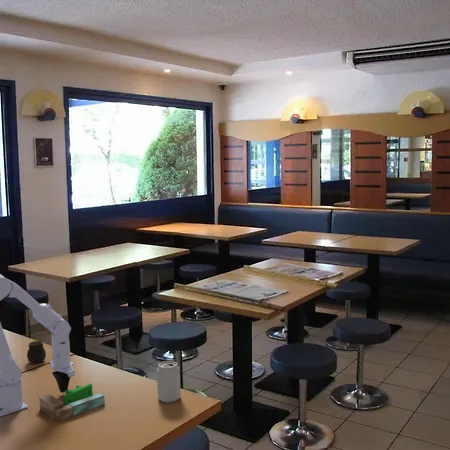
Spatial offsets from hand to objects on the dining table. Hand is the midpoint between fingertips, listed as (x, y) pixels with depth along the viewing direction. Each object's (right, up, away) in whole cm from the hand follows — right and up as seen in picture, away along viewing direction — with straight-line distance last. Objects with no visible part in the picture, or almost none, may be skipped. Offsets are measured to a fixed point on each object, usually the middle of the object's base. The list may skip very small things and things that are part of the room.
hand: (63, 391), depth 187 cm
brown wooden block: (0, -3, -13) cm, 14 cm away
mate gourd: (-20, +2, +32) cm, 38 cm away
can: (+37, -1, -6) cm, 37 cm away
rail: (+9, -2, -14) cm, 17 cm away
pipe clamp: (+6, -2, -6) cm, 9 cm away
